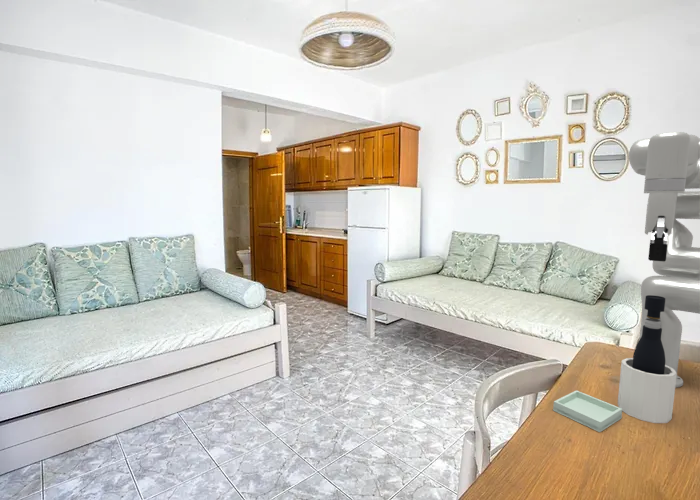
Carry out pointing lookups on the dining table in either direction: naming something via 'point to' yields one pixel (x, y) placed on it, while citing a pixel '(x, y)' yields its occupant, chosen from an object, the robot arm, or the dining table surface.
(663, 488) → the dining table surface
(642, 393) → the wine cooler
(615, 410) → the sage tray
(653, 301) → the wine bottle
